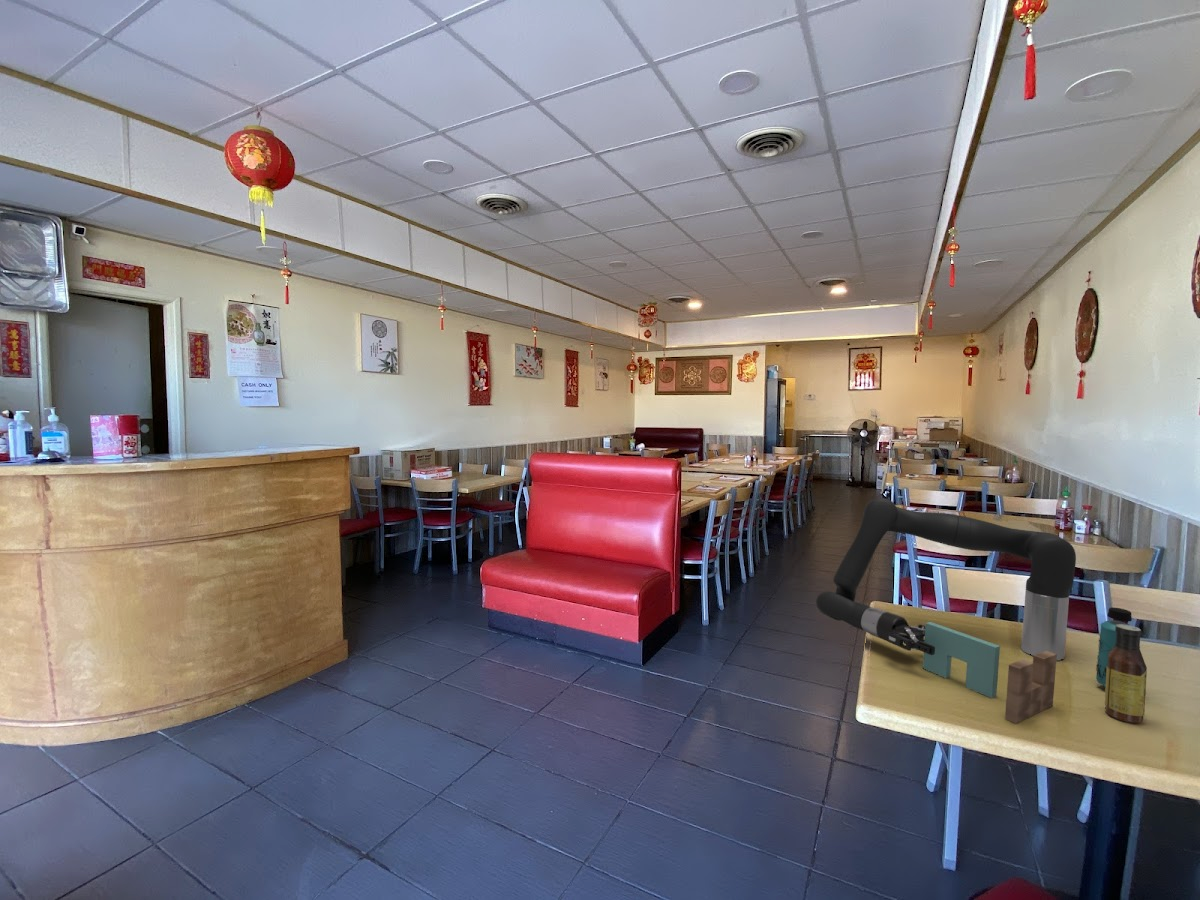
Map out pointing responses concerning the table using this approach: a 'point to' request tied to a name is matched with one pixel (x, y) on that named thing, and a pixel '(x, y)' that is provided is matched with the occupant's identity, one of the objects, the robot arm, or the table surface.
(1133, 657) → the sauce bottle
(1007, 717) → the walnut slotted plate
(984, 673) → the teal slotted plate
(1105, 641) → the teal bottle
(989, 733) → the table surface
